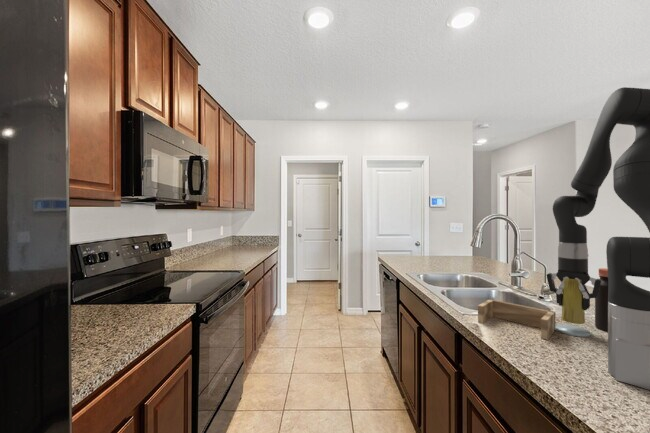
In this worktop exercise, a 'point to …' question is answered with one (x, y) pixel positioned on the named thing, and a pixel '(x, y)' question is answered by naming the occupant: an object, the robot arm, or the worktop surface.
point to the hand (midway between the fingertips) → (572, 307)
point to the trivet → (572, 330)
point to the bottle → (602, 302)
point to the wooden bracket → (518, 315)
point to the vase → (572, 302)
